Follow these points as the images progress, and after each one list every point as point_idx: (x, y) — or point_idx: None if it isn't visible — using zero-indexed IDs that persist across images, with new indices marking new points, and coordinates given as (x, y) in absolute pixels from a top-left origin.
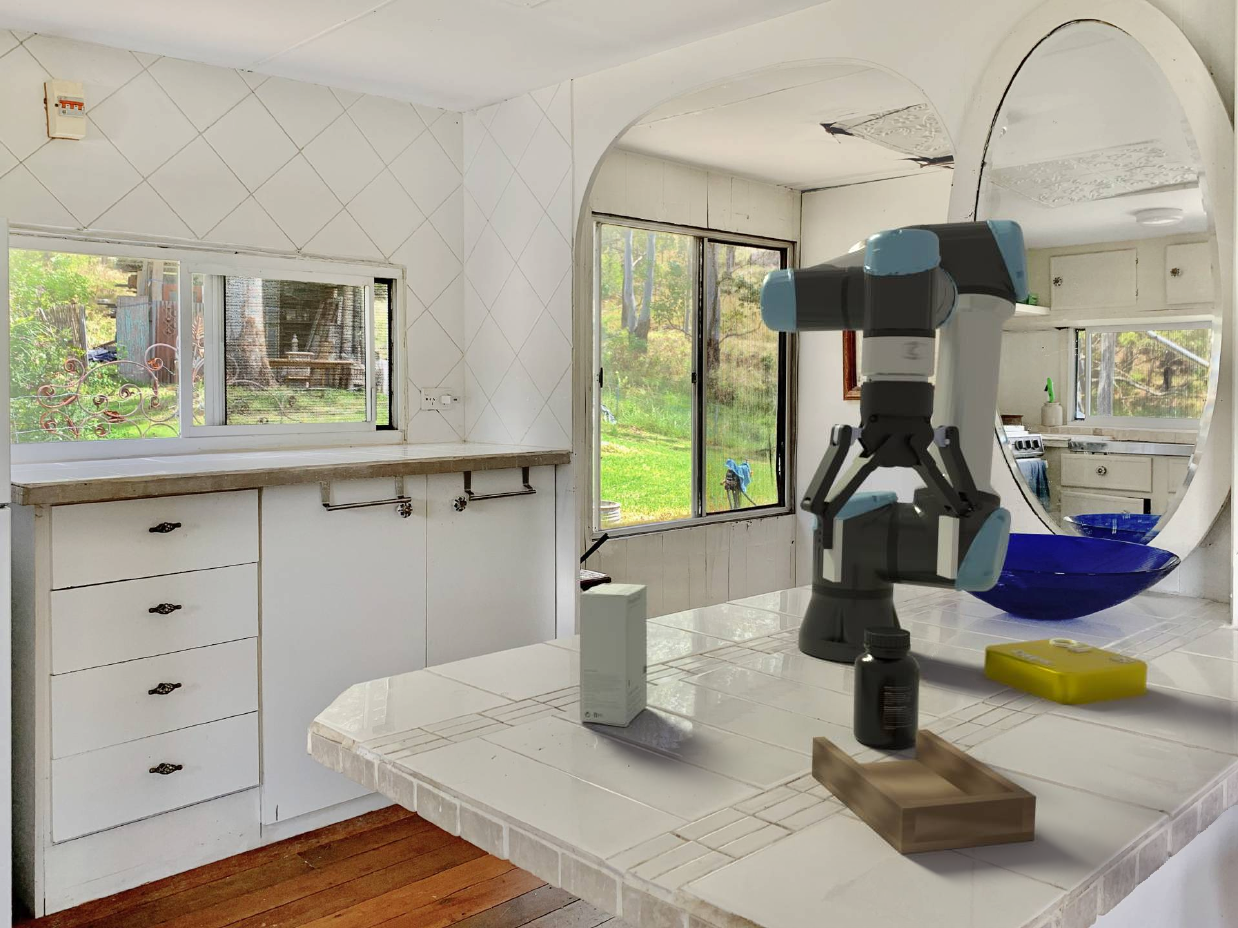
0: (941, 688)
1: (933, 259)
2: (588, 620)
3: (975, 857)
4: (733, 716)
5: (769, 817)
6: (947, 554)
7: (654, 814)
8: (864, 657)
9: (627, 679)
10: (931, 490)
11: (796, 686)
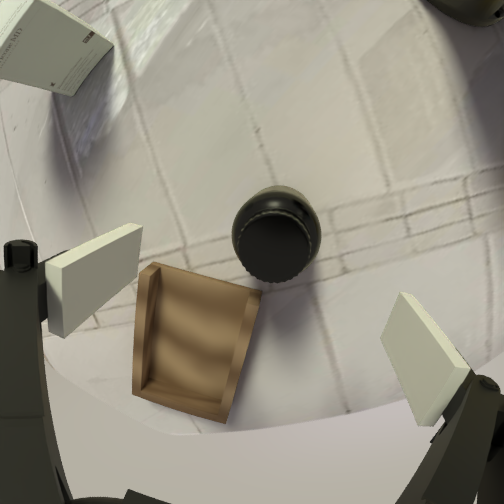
0: (463, 119)
1: None
2: None
3: None
4: (174, 90)
5: None
6: (400, 351)
7: None
8: (239, 230)
9: (46, 88)
10: (450, 434)
11: (312, 26)
